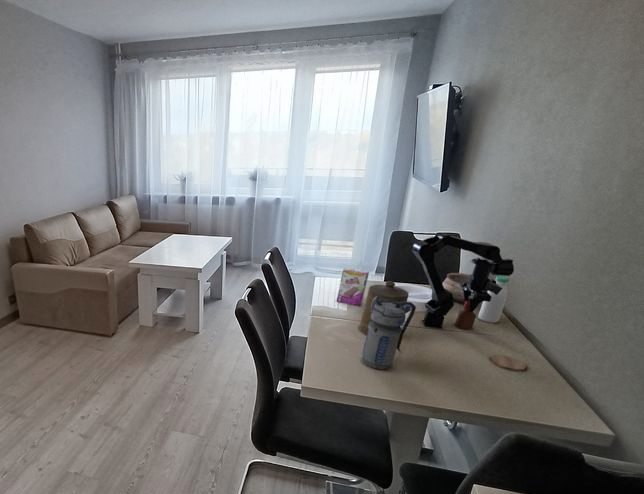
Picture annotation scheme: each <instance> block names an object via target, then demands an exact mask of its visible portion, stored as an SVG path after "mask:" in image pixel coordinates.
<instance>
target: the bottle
mask: <svg viewBox="0 0 644 494" xmlns="http://www.w3.org/2000/svg"><path fill="white" fill-rule="evenodd" d="M476 318H477V314H476V313H475V311H473V312H470V311H468V310H465V309H464V308H463V309H461V310H459V311H458V314H457V316H456V319H455V322H454V326H455V327H456V328H458V329H461V330H466V331H467V330H468V331H469V330H470V331H471V330H472V329H473V326H474V324H475V321H476Z"/></svg>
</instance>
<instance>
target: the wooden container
mask: <svg viewBox="0 0 644 494" xmlns="http://www.w3.org/2000/svg"><path fill="white" fill-rule="evenodd" d="M395 283H396V282H394V281H392V280H387V281H386V282H385V284H386V285H384V284H373V285H370V286H369V287H368V291H367V295H366V299H365V303H364V307H363V310H362V314H361V318H360V323H359V330H360V331H361V333H363V334H365V335H367V332H368V327H369V323H370V322H371V321H372V319H371V314H372V312H371V304H372V300H373V299H374V298H375V297H376V296H379V300H389V303H392V302H391V301H394V302H403V301H406V302H407V299H408V295H409V294H408V292H407V291H405V290H403V289H401V288H398V287H394V286H395ZM400 306H401V307H403V305H400Z"/></svg>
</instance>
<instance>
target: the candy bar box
mask: <svg viewBox="0 0 644 494" xmlns="http://www.w3.org/2000/svg"><path fill="white" fill-rule="evenodd" d="M369 274H370V272H369V271H367V270H361V269H356V268H355V269H354V268H349V267H344V268H343V270H342V273H341V278H340V282H339V288H338V293H337V298H336V302H337V303H343V304H347V305H352V306H356V307H361V305H362V304H363V300H364V295H365V292H366V287H367V283H368V279H369Z"/></svg>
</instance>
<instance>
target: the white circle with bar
mask: <svg viewBox="0 0 644 494" xmlns="http://www.w3.org/2000/svg"><path fill="white" fill-rule="evenodd" d="M394 283H395V286H394V287H398V288H401V289H403V290H405V291H407V292H408V294H409V295H408V299H407V302H411V303H413V304H414V305H415V306H416V309H415V312H417V313H418V312H420V313H426V310H427V308H425V303H427V302H428V301H430V300H431V299H432V297H431V295H432V289H431V287H430V288H429V287H426V286H422V285H418V284H413V283H404V282H394ZM383 285H386V283H384V284H383ZM411 308H412V307H411ZM409 312H411V310H410V311H409Z"/></svg>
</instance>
